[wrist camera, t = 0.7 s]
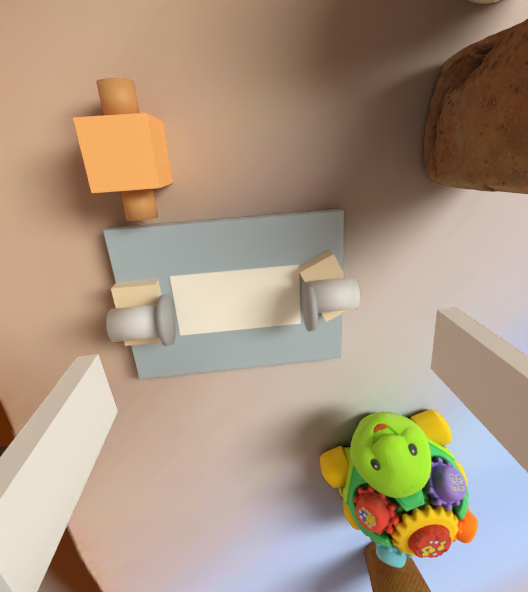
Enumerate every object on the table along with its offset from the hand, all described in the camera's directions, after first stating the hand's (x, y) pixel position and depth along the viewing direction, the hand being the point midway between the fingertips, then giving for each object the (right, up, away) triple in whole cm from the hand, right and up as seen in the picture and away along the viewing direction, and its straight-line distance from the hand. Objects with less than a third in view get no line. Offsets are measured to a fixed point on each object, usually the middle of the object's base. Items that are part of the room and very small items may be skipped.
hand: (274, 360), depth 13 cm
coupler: (-11, +15, +17) cm, 25 cm away
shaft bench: (-3, +3, +22) cm, 22 cm away
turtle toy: (+15, -17, +32) cm, 39 cm away
